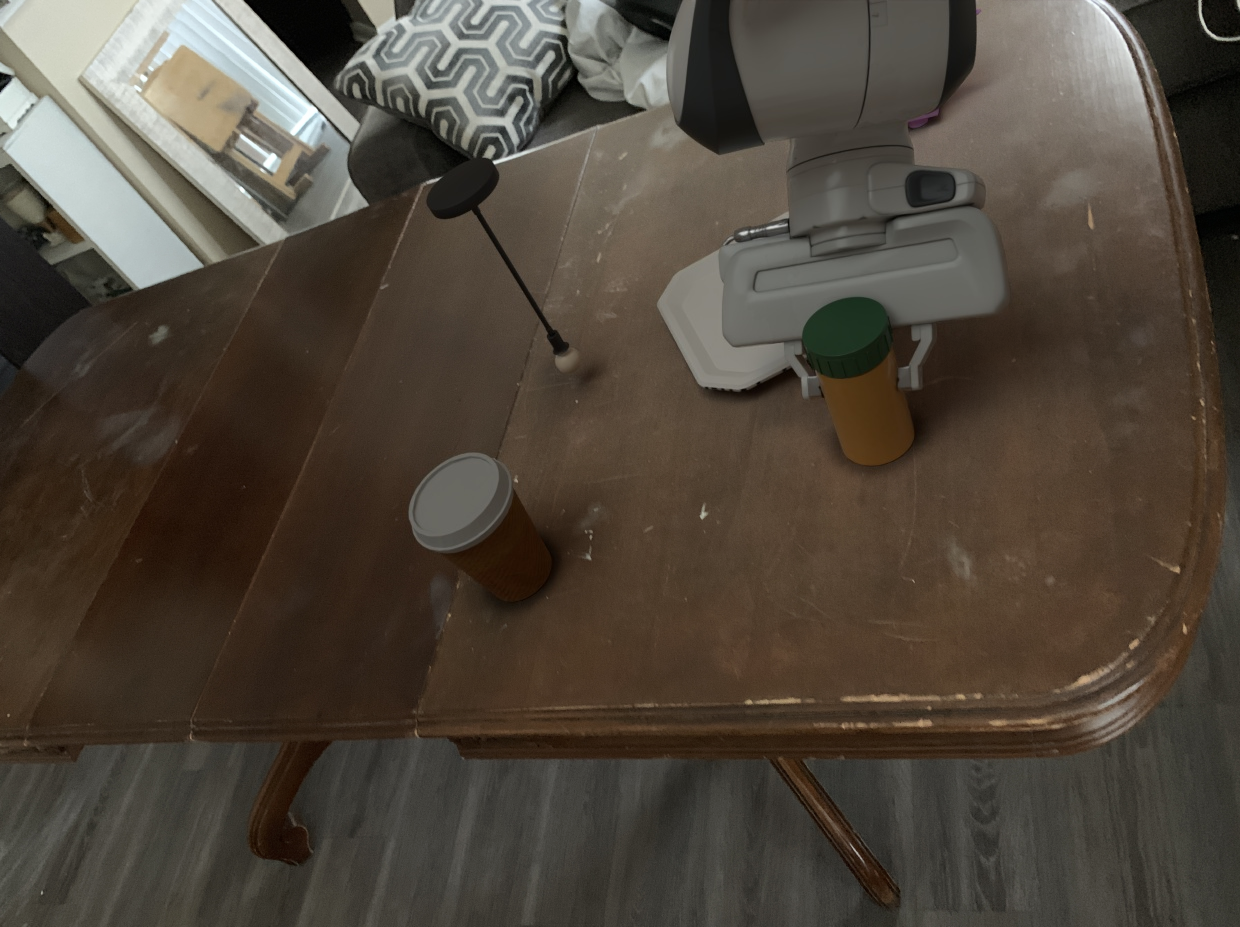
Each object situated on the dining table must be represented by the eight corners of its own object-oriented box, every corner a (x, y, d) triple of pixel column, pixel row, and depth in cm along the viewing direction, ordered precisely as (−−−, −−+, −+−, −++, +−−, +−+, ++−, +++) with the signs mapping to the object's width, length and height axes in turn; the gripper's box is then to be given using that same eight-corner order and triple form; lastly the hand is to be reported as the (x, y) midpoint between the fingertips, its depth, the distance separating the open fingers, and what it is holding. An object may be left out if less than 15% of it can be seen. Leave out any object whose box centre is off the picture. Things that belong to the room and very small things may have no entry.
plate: (936, 309, 77) (932, 289, 75) (716, 420, 81) (709, 404, 80) (836, 203, 91) (831, 185, 90) (654, 303, 96) (646, 287, 94)
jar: (882, 401, 74) (851, 292, 66) (930, 434, 70) (904, 322, 62) (827, 442, 74) (789, 338, 66) (872, 477, 70) (838, 371, 62)
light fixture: (545, 384, 96) (418, 192, 79) (597, 349, 95) (481, 148, 78) (565, 417, 91) (436, 220, 74) (621, 381, 91) (503, 173, 73)
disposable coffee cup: (486, 635, 79) (411, 561, 70) (467, 560, 85) (397, 484, 77) (580, 585, 77) (515, 503, 69) (553, 512, 84) (491, 429, 76)
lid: (856, 308, 67) (850, 285, 65) (912, 340, 63) (906, 316, 61) (792, 356, 67) (784, 334, 66) (843, 391, 63) (836, 369, 61)
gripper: (701, 228, 69) (716, 409, 70) (1000, 167, 58) (1007, 383, 59) (730, 236, 74) (743, 404, 76) (1009, 181, 63) (1015, 379, 65)
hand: (862, 395), depth 67 cm, fingers closed on jar, 5 cm apart
